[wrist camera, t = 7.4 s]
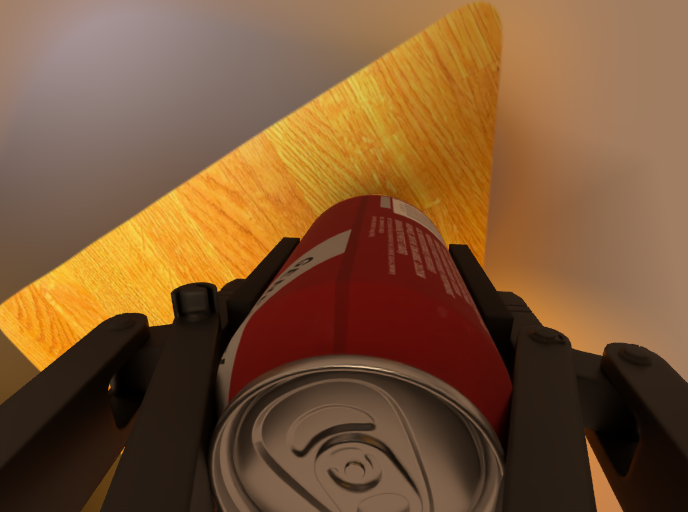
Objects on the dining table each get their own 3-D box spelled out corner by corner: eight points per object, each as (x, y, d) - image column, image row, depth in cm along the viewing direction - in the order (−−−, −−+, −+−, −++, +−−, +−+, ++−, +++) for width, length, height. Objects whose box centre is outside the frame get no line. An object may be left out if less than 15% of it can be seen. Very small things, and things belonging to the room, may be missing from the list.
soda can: (401, 162, 16) (439, 251, 5) (468, 286, 18) (611, 563, 7) (277, 235, 18) (99, 422, 7) (348, 342, 20) (300, 637, 8)
